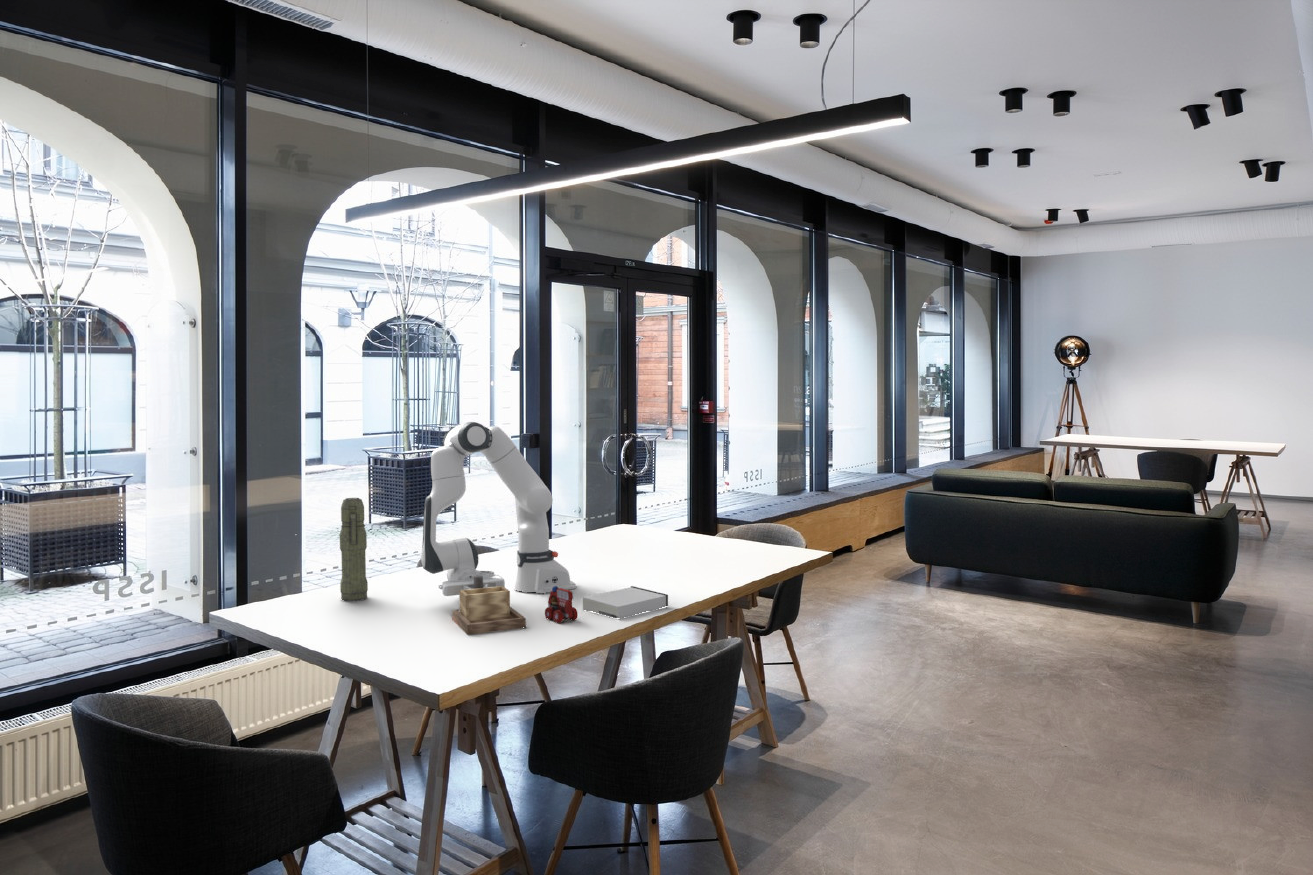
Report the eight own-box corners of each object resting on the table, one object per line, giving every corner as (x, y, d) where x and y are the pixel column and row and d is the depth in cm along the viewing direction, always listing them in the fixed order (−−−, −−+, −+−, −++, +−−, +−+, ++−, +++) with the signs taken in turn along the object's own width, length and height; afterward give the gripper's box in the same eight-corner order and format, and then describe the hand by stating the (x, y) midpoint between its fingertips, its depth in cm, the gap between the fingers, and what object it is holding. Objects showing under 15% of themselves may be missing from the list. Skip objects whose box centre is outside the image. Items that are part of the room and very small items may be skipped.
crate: (498, 606, 294) (498, 573, 294) (510, 616, 283) (509, 581, 282) (455, 611, 288) (455, 577, 288) (465, 621, 277) (465, 585, 276)
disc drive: (668, 609, 300) (668, 594, 300) (618, 621, 284) (618, 605, 284) (632, 600, 313) (632, 585, 312) (582, 611, 297) (582, 596, 297)
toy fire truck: (559, 614, 292) (559, 582, 291) (580, 622, 282) (580, 589, 281) (541, 617, 287) (540, 585, 287) (562, 625, 278) (561, 592, 277)
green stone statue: (343, 603, 305) (341, 501, 303) (338, 596, 316) (336, 497, 314) (370, 600, 309) (368, 499, 307) (364, 593, 320) (362, 496, 318)
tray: (507, 613, 292) (507, 604, 292) (525, 627, 275) (525, 617, 275) (452, 619, 284) (452, 610, 284) (467, 634, 267) (467, 624, 267)
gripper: (437, 576, 297) (446, 584, 284) (497, 570, 306) (509, 578, 293) (437, 595, 297) (446, 604, 284) (497, 589, 306) (509, 597, 293)
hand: (479, 591), depth 289 cm, fingers closed on crate, 3 cm apart
